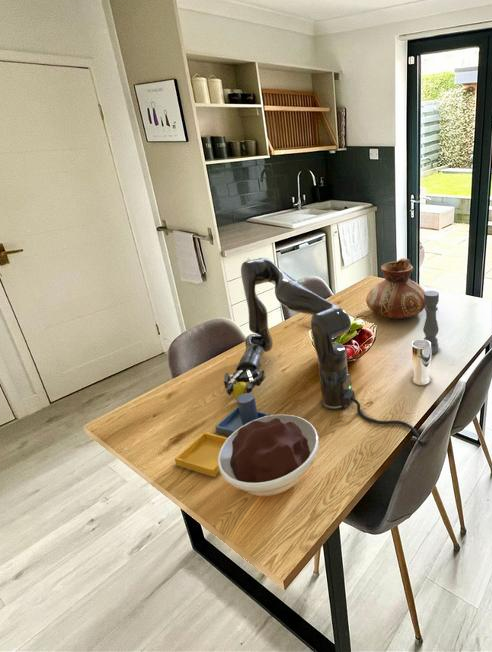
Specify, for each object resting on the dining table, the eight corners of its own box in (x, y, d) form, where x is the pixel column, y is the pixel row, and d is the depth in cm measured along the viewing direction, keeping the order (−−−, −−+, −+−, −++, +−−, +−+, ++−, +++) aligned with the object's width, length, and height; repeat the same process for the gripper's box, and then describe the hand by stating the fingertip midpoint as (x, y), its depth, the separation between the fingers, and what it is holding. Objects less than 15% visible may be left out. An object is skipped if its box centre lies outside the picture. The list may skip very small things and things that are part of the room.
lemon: (246, 408, 131) (242, 387, 128) (231, 406, 132) (227, 386, 129) (255, 397, 136) (251, 378, 133) (240, 396, 137) (236, 376, 134)
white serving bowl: (278, 428, 121) (271, 387, 115) (341, 462, 108) (336, 417, 102) (204, 484, 103) (191, 438, 97) (268, 533, 89) (258, 484, 83)
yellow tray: (242, 447, 114) (240, 441, 113) (214, 477, 105) (212, 470, 104) (206, 437, 119) (204, 431, 118) (176, 465, 109) (174, 458, 108)
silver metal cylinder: (433, 377, 144) (434, 340, 138) (427, 387, 138) (427, 350, 132) (415, 373, 147) (415, 337, 141) (408, 383, 141) (408, 346, 135)
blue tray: (270, 419, 125) (269, 413, 125) (249, 441, 117) (248, 435, 116) (238, 412, 129) (237, 406, 128) (216, 432, 121) (215, 426, 120)
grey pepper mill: (421, 352, 161) (421, 295, 151) (425, 345, 166) (425, 289, 156) (435, 355, 158) (437, 297, 149) (439, 347, 164) (441, 291, 154)
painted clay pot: (429, 324, 184) (430, 273, 174) (365, 326, 184) (362, 275, 175) (424, 299, 211) (424, 254, 202) (368, 301, 212) (365, 256, 202)
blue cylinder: (262, 418, 126) (257, 394, 122) (252, 428, 121) (247, 404, 118) (248, 415, 127) (244, 391, 124) (238, 425, 123) (233, 401, 119)
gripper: (227, 357, 143) (213, 384, 128) (268, 354, 144) (259, 380, 129) (231, 374, 146) (218, 403, 130) (271, 371, 147) (262, 399, 131)
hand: (238, 391), depth 130 cm, fingers closed on lemon, 5 cm apart
